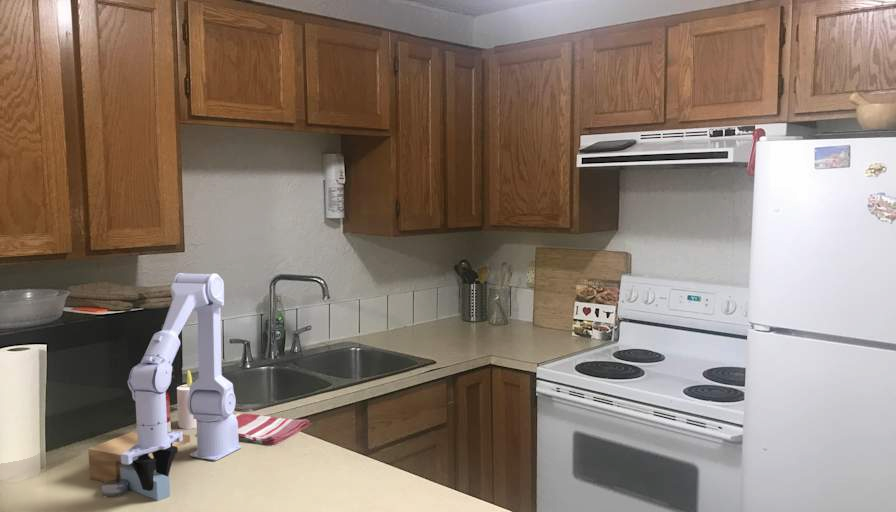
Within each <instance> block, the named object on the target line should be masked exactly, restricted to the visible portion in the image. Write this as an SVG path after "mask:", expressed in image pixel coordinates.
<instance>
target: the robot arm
mask: <svg viewBox="0 0 896 512" xmlns="http://www.w3.org/2000/svg"><path fill="white" fill-rule="evenodd" d="M224 283H225V282H224V280H223V279H222V277H221V276H220V275H219V274H218V273H184V272H178V273H177V274H176V275H175V276H174V278H173V279H172V283H171V286H170V294H171V295H170V296H171V298H172V300H171V303H170V306H169V308H168V312H167V313H166V318H165V320H164V323H163V326H162V329H161V330H160V331H158V332H155V333H154V334H153V336H152V337H151V340H150V342H149V344H148V346H147V349H146V351H144V352H145V353H144V355H143V356H142V358H141V361H140V363H138V364H137V365H135V366H133V367H132V368H131V370H130V372H129V376H128V380H127V387H128V388H129V391H131V395H132V399H133V401H135V414H136V430H137V438H138V443H137V444H136V445H134V446H133V447H132V448H130V449H129V450H127V451H126V452H124V453H122V454H121V463H123V464H128V465H129V464H131V465H132V467H133V468H134V469H135V471H136V473H137V475H138V477H139V480H140V483H141V486H142V489H143V490H148V491H151V490H152V489H153V472H154V471H155V472H157V473H160V474H162V475H165V476H168V477H169V476H170V471H171V468H172V464H173V461H174V459H175V457H176V455H177V454H178V450H179V449H178V448H179V447H176V446H172V444H173V443H175V442H181V441H183V434H184V433H183V431H178V430H174V431H171V433H167V412H166V392H167V390H168V389H169V388H170V387H169V386H170V385H171V382H172V372H173V365H172V364H173V362H174V359H175V357H176V356H177V353H178V351H179V348H180V346H181V340H180V338H179V335H180V334H181V332H182V329H183V328H184V326H185V324H186V322H187V320H188V319H189V317H190V315H191V313H192V311H193V310H194V311H196V313H197V353H198V354H197V355H198V356H197V357H198V378H197V379H195V381H192V384H191V385H190V391H189V397H188V400H187V407H188V410H189V412H190V414H192V415H193V419H196V423H197V428H196V442H197V445H196V446H197V449H196V451H193V452H191V453H190V454H189V457H191V458H198V459H203V460H204V459H205V460H209V461H213V462H214V461H215V462H216V461H218V460H219V459H222V458H224V457H226V456H228V455H230V454H232V453H234V452H236V451H237V450H239V449H241V448H242V445H240V443H239V442H240V441H239V440H238V421H237V418H236V417H235V415H234V414H235V413H234V412H235V411H234V410H235V408H236V403H237V402H236V401H237V400H236V395H235V391H234V384H233V382H231V381H230V380H229V379H227V378H226V377H224V376H223V374H222V331H221V330H222V328H221V327H222V325H221V324H222V323H221V318H222V317H221V308H222V307H224V306H225V284H224ZM150 453H152V454H153V457H154V459H153V458H150V456H149V454H150ZM154 466H155V467H154Z"/></svg>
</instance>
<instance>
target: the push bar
mask: <svg viewBox="0 0 896 512" xmlns="http://www.w3.org/2000/svg"><path fill="white" fill-rule="evenodd" d="M120 474H121V479H126V480H127V481H128V490H132V491H133V492H136V493H138V494H141V495H144V496H145V497H148V498H150V499H152V500H155V501H158V502H159V501H161V500H163V499H166V498H168V497H170V496H171V487H170V477H169V476H165V475H162V474H160V473H157V472H156V470H154V472H153V489H152V490H151V491H148V490H143V489H142V486H141V483H140V480H139V477H138V475H137V473H136V471H135V469H134V468H133V467H132V465H131V464H129V465H125V466H122V467H120Z"/></svg>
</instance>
